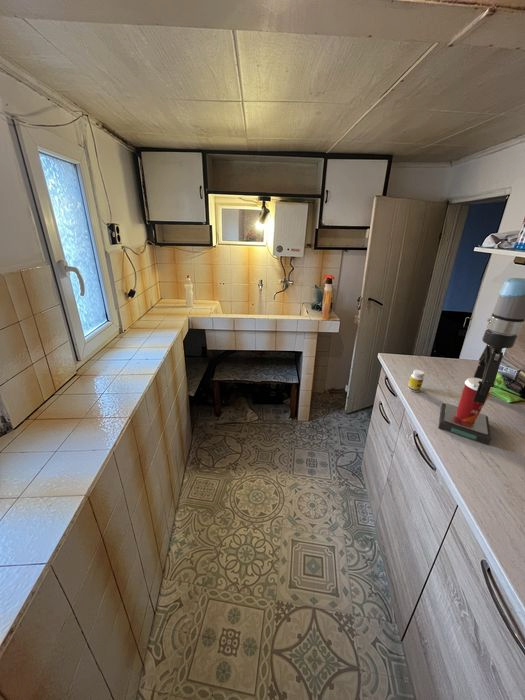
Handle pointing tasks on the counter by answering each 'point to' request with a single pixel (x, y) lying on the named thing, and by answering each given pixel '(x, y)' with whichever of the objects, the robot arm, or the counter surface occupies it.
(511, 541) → the counter surface
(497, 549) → the counter surface
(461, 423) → the kitchen scale
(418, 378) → the supplement bottle
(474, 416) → the paper cup
